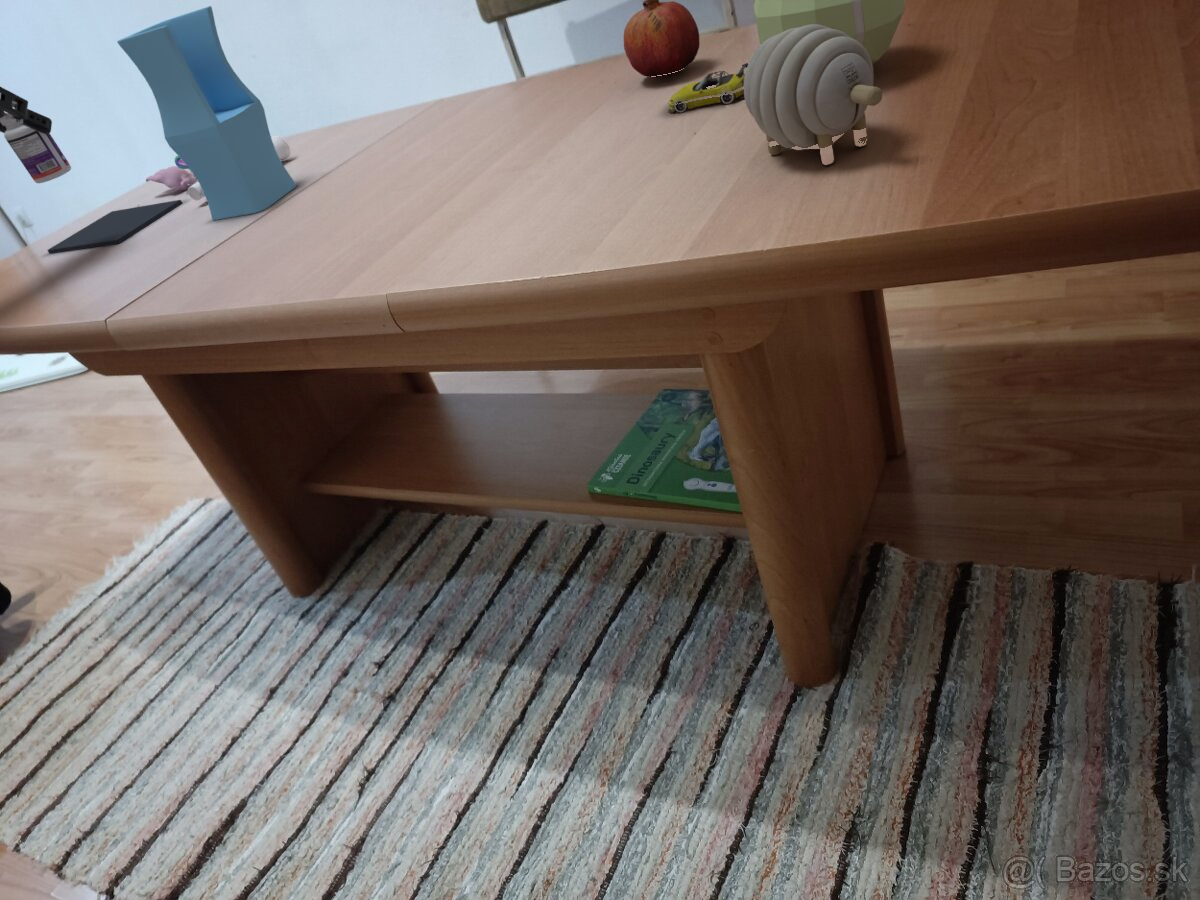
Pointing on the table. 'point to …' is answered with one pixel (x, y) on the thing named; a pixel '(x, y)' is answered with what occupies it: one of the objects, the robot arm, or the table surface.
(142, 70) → the vase
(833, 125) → the toy sheep
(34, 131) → the pill bottle
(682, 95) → the toy car
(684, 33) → the fruit
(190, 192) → the binoculars
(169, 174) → the pink figurine
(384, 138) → the table surface
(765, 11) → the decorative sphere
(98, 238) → the mat
